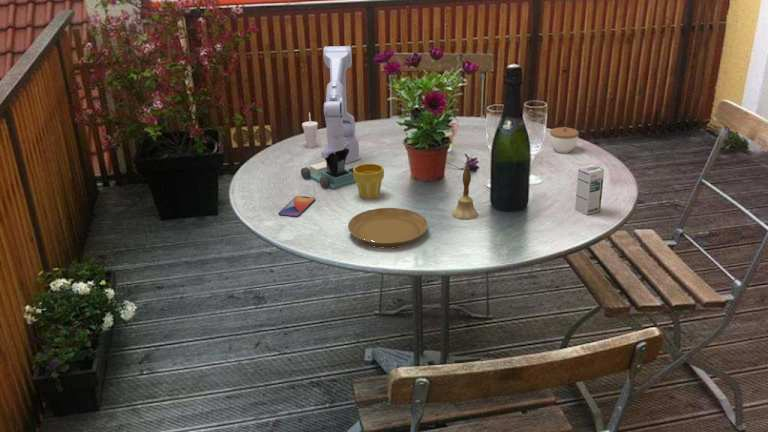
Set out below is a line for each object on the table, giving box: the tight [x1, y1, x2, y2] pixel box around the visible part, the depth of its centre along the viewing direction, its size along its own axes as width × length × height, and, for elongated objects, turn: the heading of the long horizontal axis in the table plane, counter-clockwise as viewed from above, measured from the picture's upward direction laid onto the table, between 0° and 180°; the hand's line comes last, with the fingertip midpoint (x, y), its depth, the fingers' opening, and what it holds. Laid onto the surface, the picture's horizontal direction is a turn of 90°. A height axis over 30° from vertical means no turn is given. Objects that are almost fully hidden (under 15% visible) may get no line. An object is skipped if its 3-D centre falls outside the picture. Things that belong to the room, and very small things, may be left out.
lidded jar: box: [549, 126, 580, 154], centre depth 281 cm, size 11×11×9 cm
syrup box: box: [574, 163, 605, 216], centre depth 228 cm, size 6×6×14 cm
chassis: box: [300, 161, 357, 191], centre depth 261 cm, size 14×20×4 cm
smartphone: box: [277, 195, 316, 218], centre depth 239 cm, size 7×15×1 cm, turn 162°
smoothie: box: [301, 112, 319, 149], centre depth 292 cm, size 6×6×14 cm
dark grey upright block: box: [325, 158, 346, 178], centre depth 256 cm, size 4×5×6 cm
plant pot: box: [353, 163, 385, 200], centre depth 245 cm, size 10×10×10 cm
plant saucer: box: [347, 207, 429, 249], centre depth 219 cm, size 24×24×3 cm
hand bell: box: [451, 166, 479, 221], centre depth 227 cm, size 8×8×16 cm
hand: (337, 170), depth 256 cm, fingers closed on dark grey upright block, 4 cm apart
